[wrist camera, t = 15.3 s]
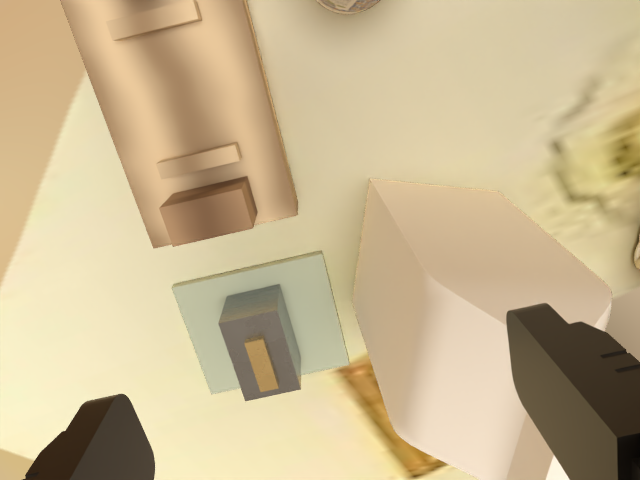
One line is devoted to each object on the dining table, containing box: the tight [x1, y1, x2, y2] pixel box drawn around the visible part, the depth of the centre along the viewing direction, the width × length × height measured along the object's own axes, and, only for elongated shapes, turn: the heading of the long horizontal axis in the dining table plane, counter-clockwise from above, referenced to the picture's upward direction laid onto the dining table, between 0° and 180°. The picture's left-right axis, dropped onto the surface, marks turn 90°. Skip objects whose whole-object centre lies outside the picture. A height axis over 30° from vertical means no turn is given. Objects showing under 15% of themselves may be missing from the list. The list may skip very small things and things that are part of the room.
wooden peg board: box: [60, 0, 298, 248], centre depth 36 cm, size 12×22×8 cm, turn 13°
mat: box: [172, 251, 349, 394], centre depth 47 cm, size 14×12×1 cm
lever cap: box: [218, 284, 301, 401], centre depth 44 cm, size 5×8×6 cm, turn 13°
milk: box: [352, 178, 612, 480], centre depth 33 cm, size 12×12×26 cm
